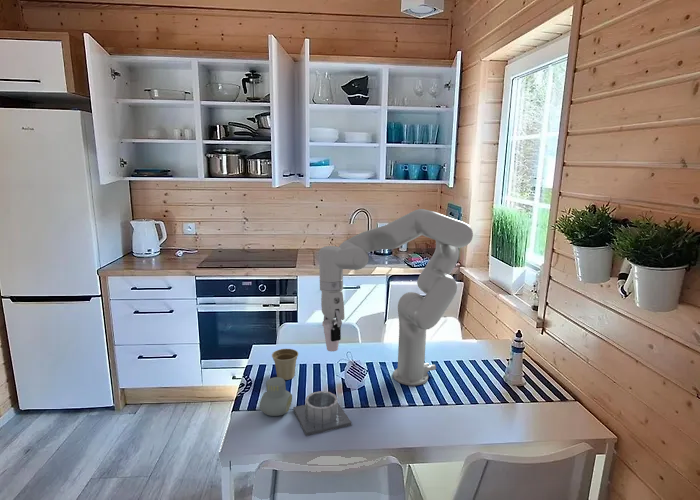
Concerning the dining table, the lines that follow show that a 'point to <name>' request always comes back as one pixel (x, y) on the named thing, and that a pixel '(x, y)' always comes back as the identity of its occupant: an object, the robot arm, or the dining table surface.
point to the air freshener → (275, 398)
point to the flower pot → (285, 363)
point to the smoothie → (329, 336)
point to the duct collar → (321, 413)
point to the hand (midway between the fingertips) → (332, 336)
